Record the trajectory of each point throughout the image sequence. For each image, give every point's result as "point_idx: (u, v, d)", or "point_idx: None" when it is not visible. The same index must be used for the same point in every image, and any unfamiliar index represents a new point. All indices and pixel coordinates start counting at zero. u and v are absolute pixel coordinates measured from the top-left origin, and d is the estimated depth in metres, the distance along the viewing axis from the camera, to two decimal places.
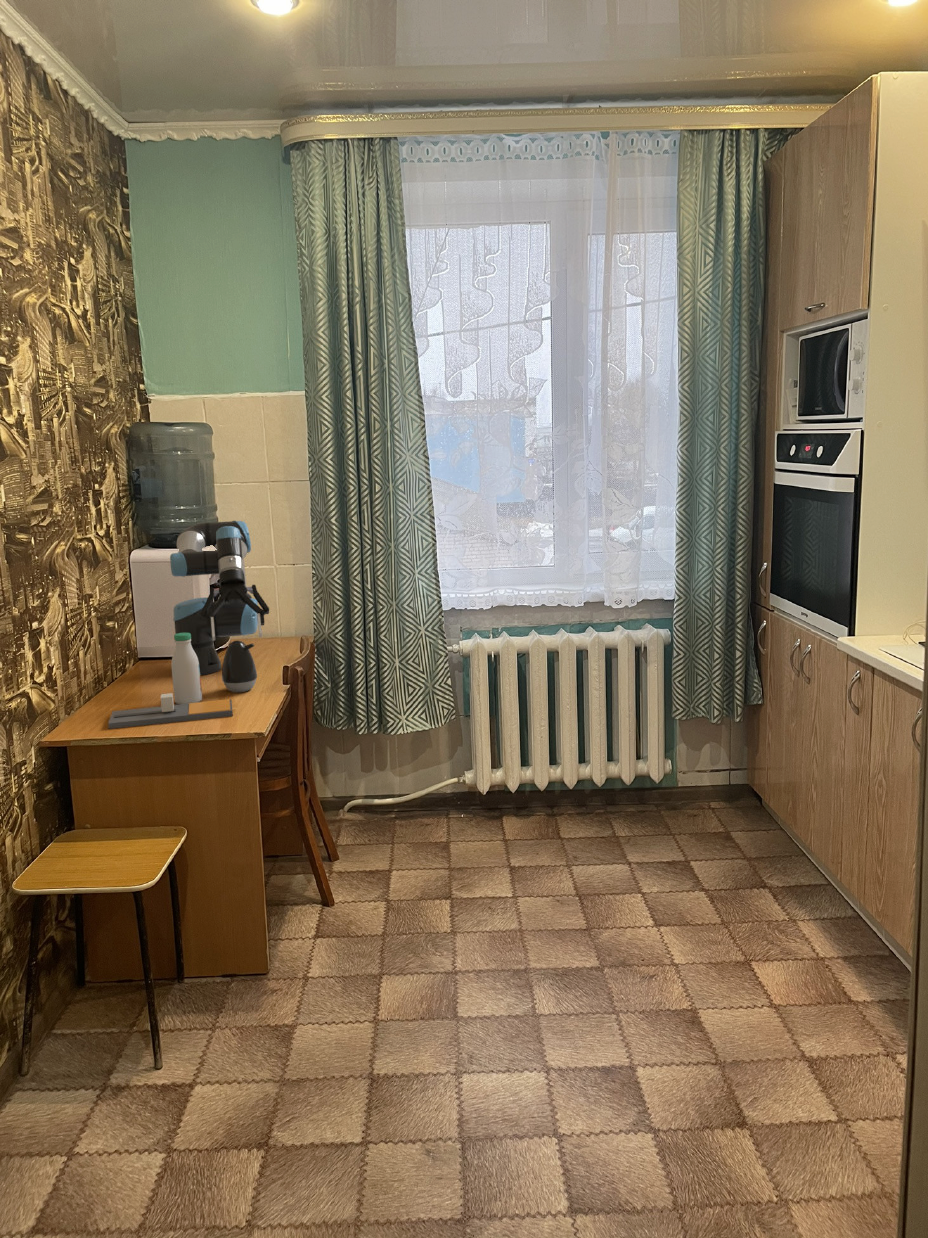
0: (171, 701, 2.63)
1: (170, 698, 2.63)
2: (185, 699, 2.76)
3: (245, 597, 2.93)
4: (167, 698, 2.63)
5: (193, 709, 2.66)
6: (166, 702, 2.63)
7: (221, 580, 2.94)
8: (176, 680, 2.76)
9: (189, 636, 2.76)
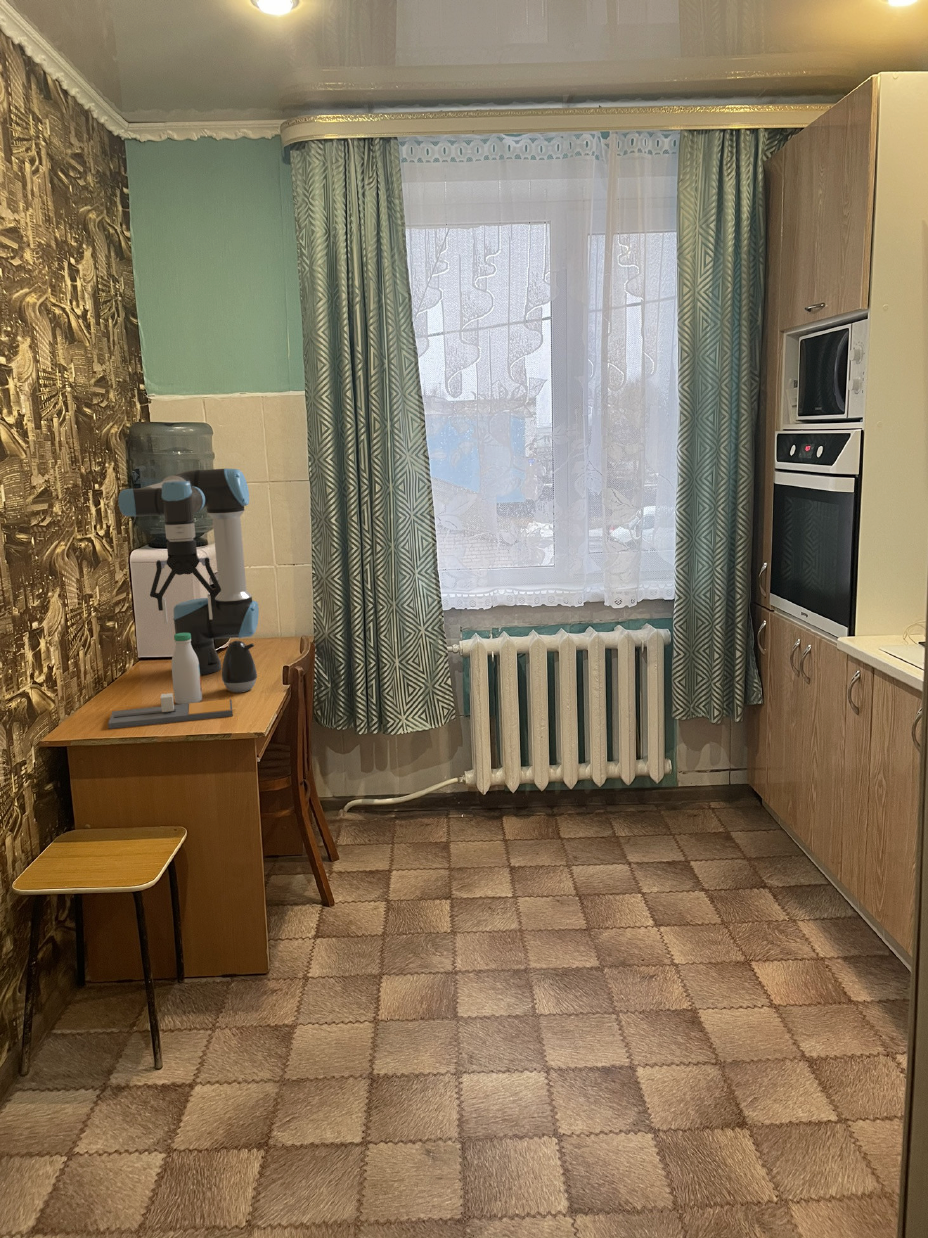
0: (171, 701, 2.63)
1: (170, 698, 2.63)
2: (185, 699, 2.76)
3: (196, 574, 2.59)
4: (167, 698, 2.63)
5: (193, 709, 2.66)
6: (166, 702, 2.63)
7: (169, 552, 2.56)
8: (176, 680, 2.76)
9: (189, 636, 2.76)
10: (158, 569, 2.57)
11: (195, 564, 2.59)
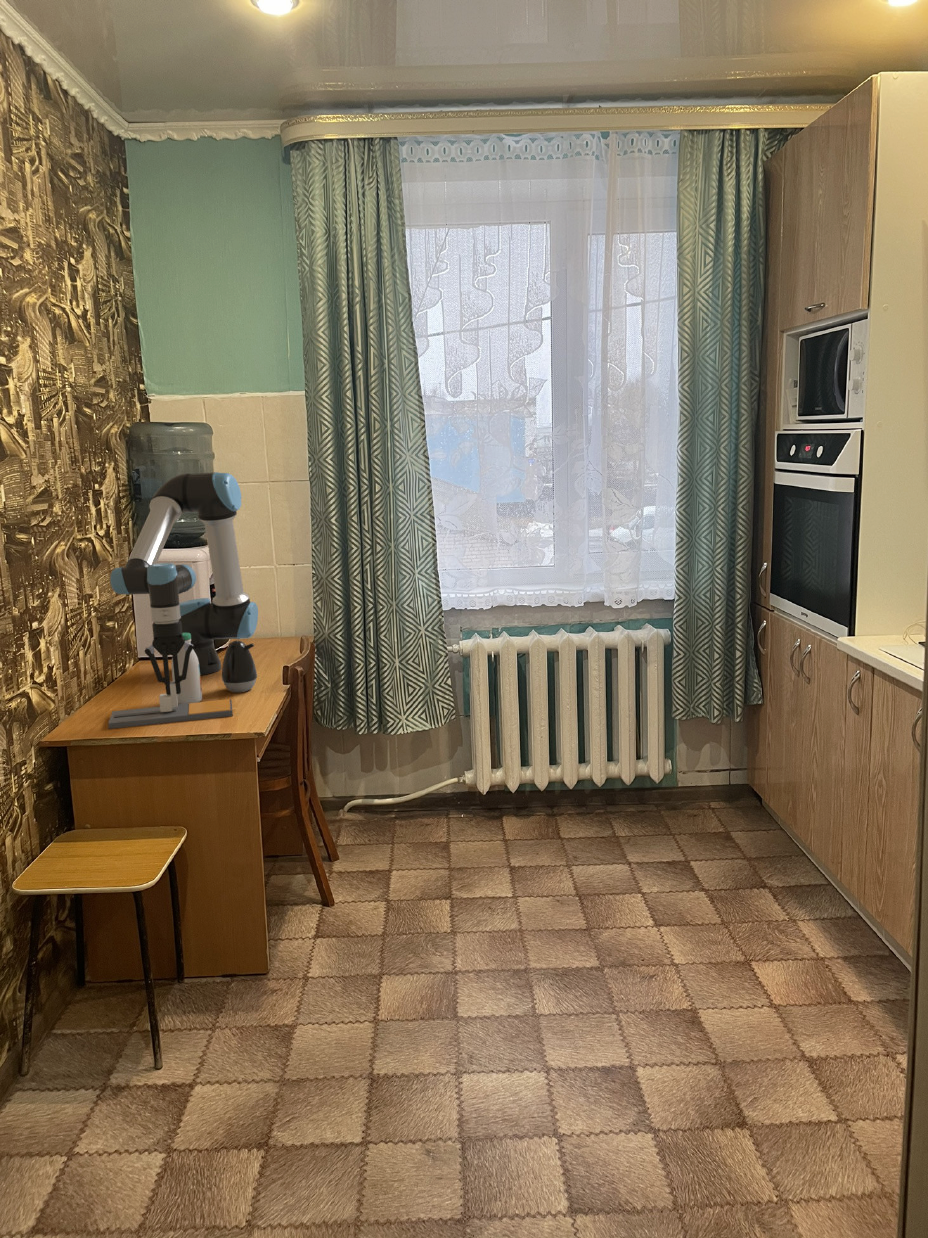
0: (170, 701, 2.63)
1: (169, 698, 2.63)
2: (185, 699, 2.76)
3: (174, 657, 2.62)
4: (166, 698, 2.63)
5: (193, 709, 2.66)
6: (165, 702, 2.63)
7: (154, 634, 2.59)
8: None
9: (189, 636, 2.76)
10: (150, 656, 2.60)
11: (180, 645, 2.62)
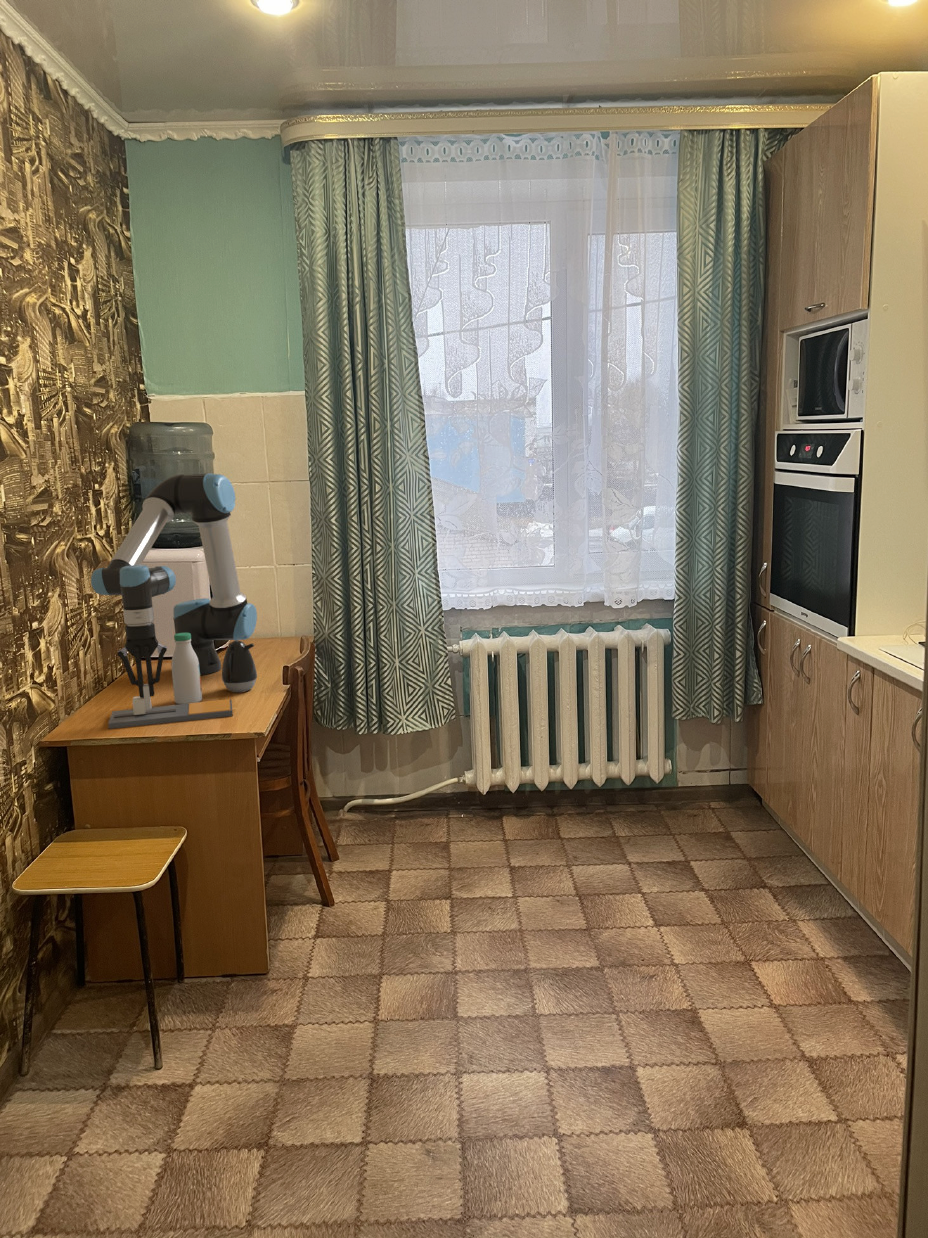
0: (143, 704, 2.62)
1: (142, 701, 2.61)
2: (185, 699, 2.76)
3: (147, 660, 2.60)
4: (139, 701, 2.61)
5: (193, 709, 2.66)
6: (138, 705, 2.61)
7: (127, 637, 2.57)
8: (176, 680, 2.76)
9: (189, 636, 2.76)
10: (123, 658, 2.59)
11: (154, 647, 2.60)
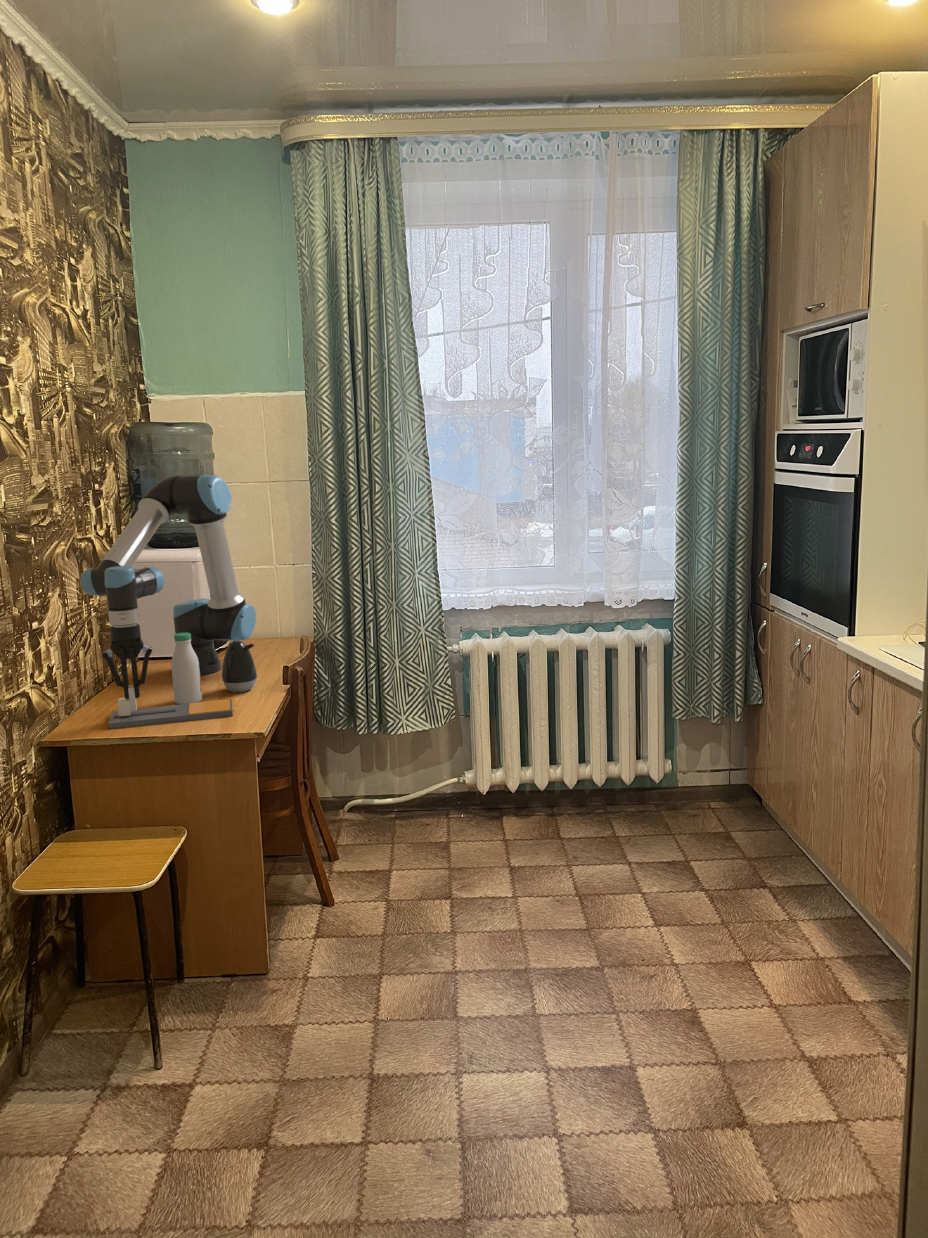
0: (128, 705, 2.61)
1: (127, 702, 2.60)
2: (185, 699, 2.76)
3: (132, 661, 2.59)
4: (124, 702, 2.60)
5: (193, 709, 2.66)
6: (123, 706, 2.60)
7: (112, 638, 2.57)
8: (176, 680, 2.76)
9: (189, 636, 2.76)
10: (108, 660, 2.58)
11: (139, 649, 2.60)
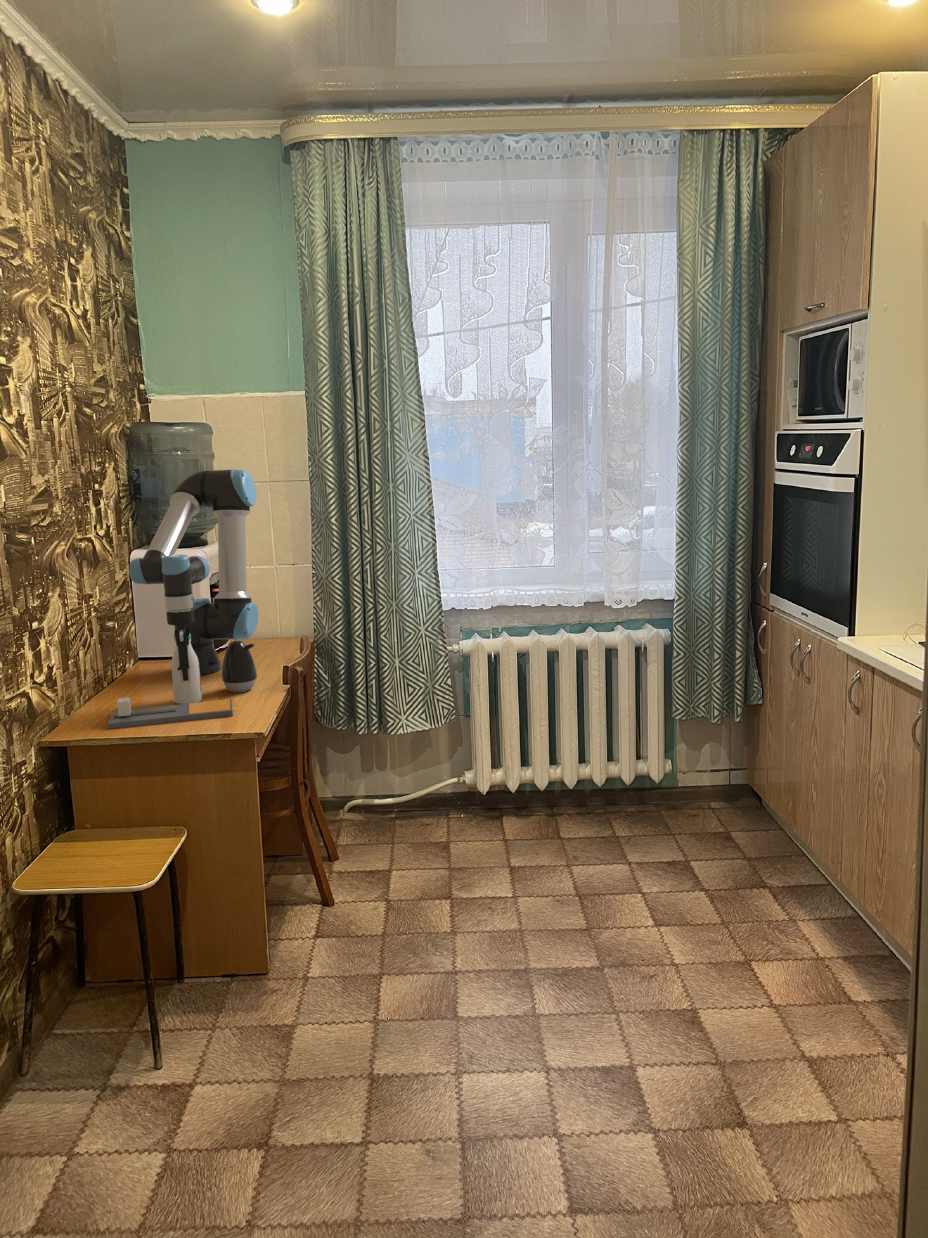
0: (128, 705, 2.61)
1: (127, 702, 2.60)
2: (185, 699, 2.76)
3: None
4: (124, 702, 2.60)
5: (193, 709, 2.66)
6: (123, 706, 2.60)
7: (187, 621, 2.73)
8: (176, 680, 2.76)
9: (189, 636, 2.76)
10: (186, 641, 2.71)
11: None
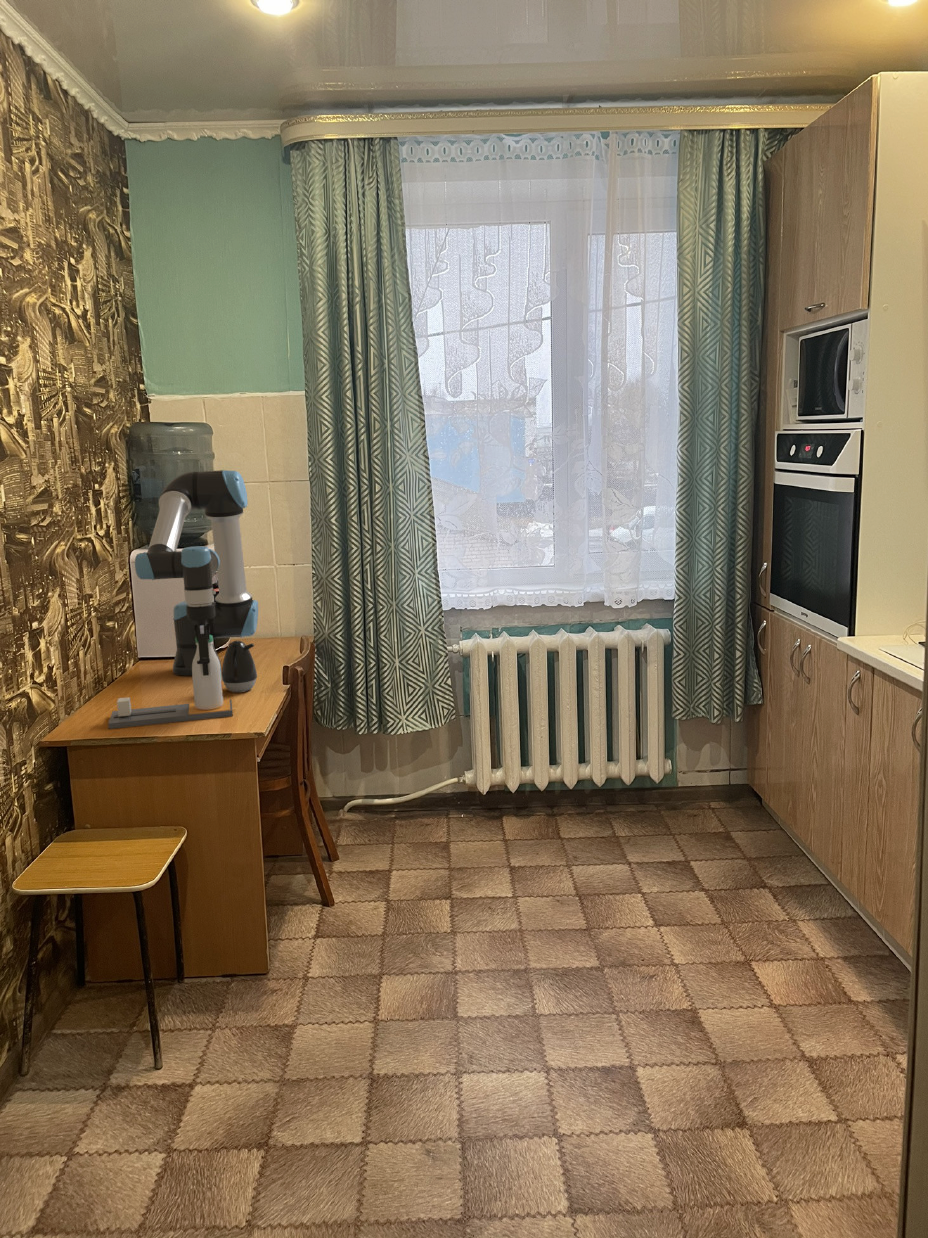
0: (128, 705, 2.61)
1: (127, 702, 2.60)
2: (206, 704, 2.64)
3: None
4: (124, 702, 2.60)
5: (193, 709, 2.66)
6: (123, 706, 2.60)
7: (208, 616, 2.60)
8: (197, 684, 2.63)
9: (211, 638, 2.63)
10: (207, 634, 2.58)
11: None
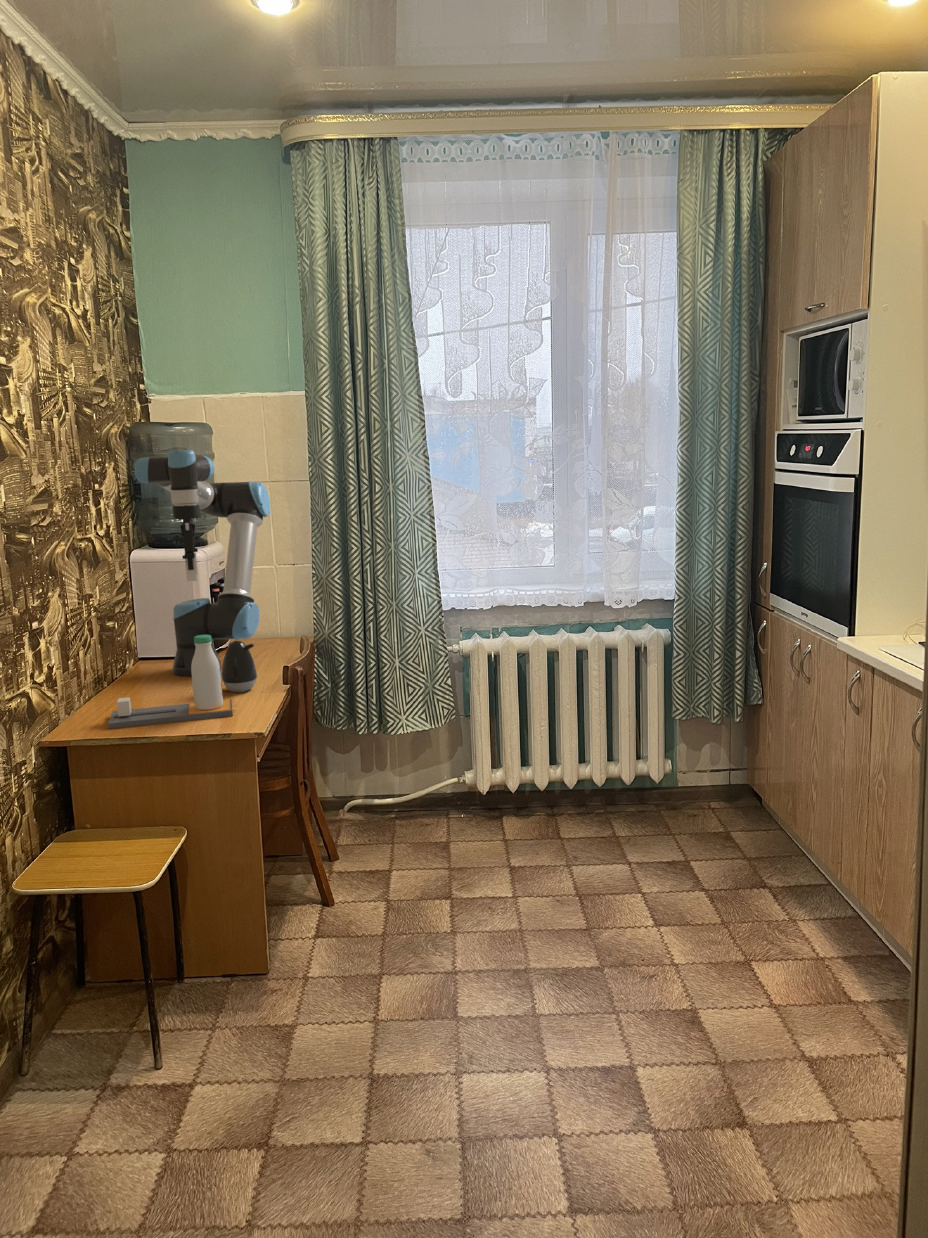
0: (128, 705, 2.61)
1: (127, 702, 2.60)
2: (206, 704, 2.64)
3: None
4: (124, 702, 2.60)
5: (193, 709, 2.66)
6: (123, 706, 2.60)
7: (193, 515, 2.76)
8: (196, 684, 2.63)
9: (210, 638, 2.63)
10: (192, 530, 2.73)
11: None
